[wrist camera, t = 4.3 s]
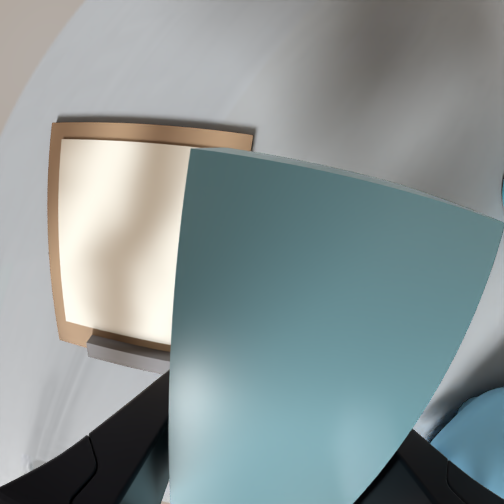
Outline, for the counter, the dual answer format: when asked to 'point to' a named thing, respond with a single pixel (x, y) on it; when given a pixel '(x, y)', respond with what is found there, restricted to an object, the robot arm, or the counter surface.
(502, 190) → the tube
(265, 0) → the counter surface
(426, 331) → the light blue block
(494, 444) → the decorative pot
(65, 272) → the clipboard
